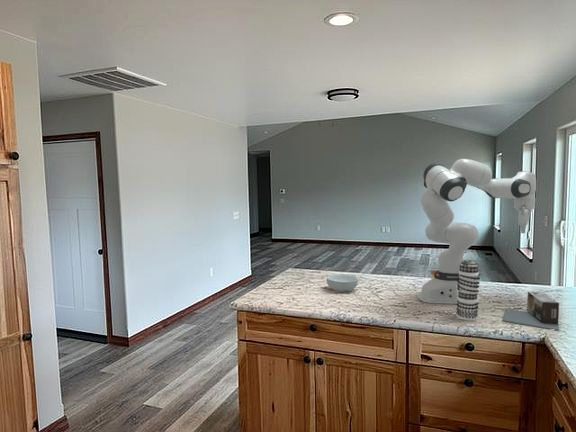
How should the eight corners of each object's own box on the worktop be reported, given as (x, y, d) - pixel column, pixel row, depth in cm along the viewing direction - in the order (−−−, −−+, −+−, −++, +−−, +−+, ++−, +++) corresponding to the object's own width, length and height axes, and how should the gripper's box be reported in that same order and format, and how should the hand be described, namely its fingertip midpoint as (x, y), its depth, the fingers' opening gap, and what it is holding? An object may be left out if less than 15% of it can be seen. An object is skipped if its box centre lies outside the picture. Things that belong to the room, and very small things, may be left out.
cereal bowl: (322, 292, 212) (322, 279, 211) (331, 285, 227) (331, 272, 227) (354, 296, 206) (354, 282, 205) (360, 287, 221) (360, 275, 220)
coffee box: (541, 311, 179) (558, 324, 163) (526, 310, 180) (541, 323, 164) (543, 291, 178) (560, 303, 162) (527, 291, 179) (542, 302, 163)
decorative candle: (483, 320, 169) (485, 262, 167) (462, 321, 169) (464, 263, 166) (471, 313, 178) (473, 258, 176) (451, 313, 178) (453, 258, 175)
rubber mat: (558, 331, 157) (559, 329, 157) (501, 321, 168) (502, 320, 168) (557, 317, 173) (557, 316, 172) (505, 309, 183) (505, 308, 183)
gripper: (531, 206, 183) (529, 235, 184) (532, 204, 200) (531, 231, 201) (515, 205, 187) (514, 234, 188) (518, 204, 204) (516, 230, 205)
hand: (522, 233), depth 195 cm, fingers closed
